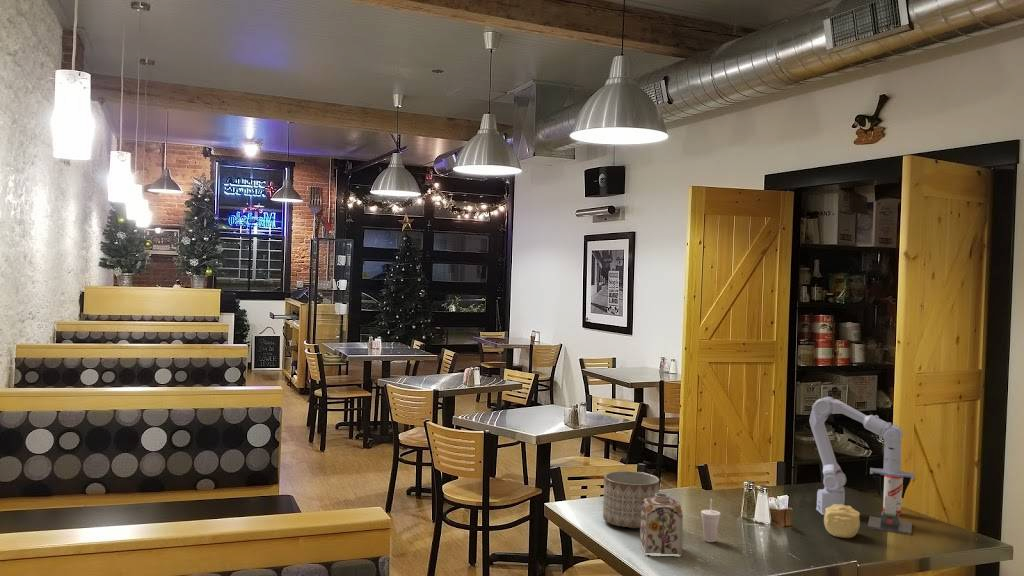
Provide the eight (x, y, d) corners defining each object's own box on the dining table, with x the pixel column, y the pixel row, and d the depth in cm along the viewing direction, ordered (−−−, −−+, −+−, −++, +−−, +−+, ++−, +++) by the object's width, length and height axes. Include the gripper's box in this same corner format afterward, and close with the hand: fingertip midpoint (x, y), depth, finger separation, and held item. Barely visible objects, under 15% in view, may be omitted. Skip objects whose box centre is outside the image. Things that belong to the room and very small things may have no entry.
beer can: (904, 516, 292) (905, 474, 292) (887, 515, 292) (888, 474, 292) (896, 511, 298) (897, 470, 298) (879, 511, 298) (881, 470, 298)
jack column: (884, 516, 278) (884, 497, 278) (884, 514, 281) (885, 495, 281) (895, 518, 276) (896, 499, 276) (896, 515, 279) (896, 497, 279)
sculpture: (824, 538, 263) (825, 506, 263) (822, 527, 275) (823, 497, 275) (860, 542, 259) (861, 511, 259) (857, 532, 271) (858, 502, 271)
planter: (655, 535, 260) (656, 486, 260) (598, 528, 266) (600, 481, 265) (660, 519, 279) (661, 473, 279) (607, 513, 284) (608, 468, 284)
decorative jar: (639, 543, 251) (641, 489, 251) (675, 545, 251) (677, 490, 251) (644, 556, 239) (646, 499, 239) (682, 558, 239) (684, 500, 239)
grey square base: (867, 528, 276) (867, 515, 276) (869, 518, 288) (870, 506, 288) (911, 535, 269) (911, 522, 269) (911, 524, 282) (912, 512, 282)
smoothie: (720, 539, 258) (721, 498, 258) (719, 545, 252) (720, 503, 252) (700, 537, 260) (702, 495, 260) (699, 542, 254) (700, 500, 254)
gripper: (869, 458, 281) (868, 495, 282) (914, 463, 274) (913, 501, 275) (871, 454, 288) (869, 490, 288) (914, 460, 281) (913, 497, 281)
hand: (891, 495), depth 282 cm, fingers open, 7 cm apart
